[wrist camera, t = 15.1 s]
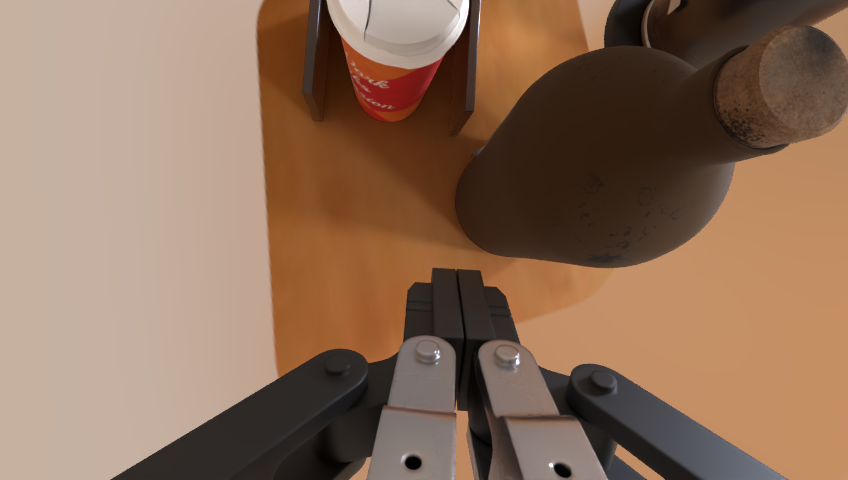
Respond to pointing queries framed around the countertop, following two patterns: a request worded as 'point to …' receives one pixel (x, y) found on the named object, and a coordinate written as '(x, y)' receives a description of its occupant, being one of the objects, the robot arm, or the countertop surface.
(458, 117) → the holder
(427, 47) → the paper cup
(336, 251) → the countertop surface
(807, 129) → the brown bottle
